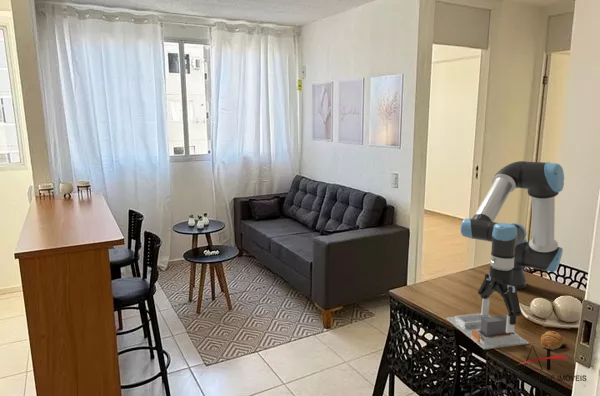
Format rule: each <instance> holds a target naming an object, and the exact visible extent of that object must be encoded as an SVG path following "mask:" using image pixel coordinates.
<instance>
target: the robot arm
mask: <svg viewBox="0 0 600 396" xmlns="http://www.w3.org/2000/svg"><path fill="white" fill-rule="evenodd" d="M564 185H565V174H564V169H563V167H562V166H561V164H559V163H555V162H554V163H553V162H550V161H549V162H548V161H547V162H540V161H537V162H536V161H525V160H523V161H522V160H519V161H514V162H511V163H508V164H506V165H505V166H503V167H502V168H500V170H499V171H497V172H496V174H494V176H493V177H492V180H491V186H490V188H489V189H488V191H487V193H486V194H485V196H484V198H483V199H482V201H481V203H480V205H478V206H479V207H478V208H477V210H476V211H475V213H474V215H473V216H472V218H471V217H469V218H468V217H465V218H464V219H463V220H462V221H461V224H460V234H461V236H463V237H465V238H469V239H473V240H480V241H484V242H491V252H490V255H491V256H490V266H489V273H486V274H485V275H484V280H483V281H482V283H481V285H480V287H479V289H478V291H477V294H478V295H479V296H480V298H481V310H480V313H481V315H482V316H485V315H490V313H489V312H490V303H491V302H490V301H491V299H490V297H491V295H492V294H493V293H494V292H497V293H498V294H499V295H500V297H502V299H503V301H504V305H505V306H506V310H507V312H508V313H507V314H506V316H507V322H506V333H511V332H515V325H516V324H517V323H516V322H517V317H521V316H522V314H523V313H522V310H521V306H520V301H519V296H518V290H521V289H522V290H523V289H525V288H526V287H527V280H526V276H525V272H524V268H525V267H526V268H531V269H535V270H541V271H544V272H550V273H551V272H552V273H554V272H556V271H557V270H558V268H559V267H560V264H561V263H560V262H561V260H562V256H563V252H564V250H563V248H562V247H561V246H559V243H558V241H557V240H556V239H555V205H556V204H555V198H556V197H557V196H558V195H559V194H560V192H562V191H563V189H564ZM515 189H525V190H527V195H528V196H529V197H531V222H532V223H531V228H532V229H531V230H532V232H531V233H532V234H531V235H532V236H531V237H532V238H531V239H529V241H527V234H528V233H527V230H526V228H525V226H523V225H522V224H520V223H517V222H516V223H506V222H495V220H496V219H497V216H498V214H499V213H500V211H501V209H502V207H503V206H504V204H505V202H506V200H507V198H508V196H509V195H510V193H512V192H514V191H515Z"/></svg>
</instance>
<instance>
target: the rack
mask: <svg viewBox="0 0 600 396" xmlns="http://www.w3.org/2000/svg"><path fill="white" fill-rule="evenodd" d="M486 317H492V316H491V315H490V314H489V315H485V316H482V315H481V312H480V313H478V312H477V313H468V314H460V315H454V316H447V317H445V320H447V321H448V322H450V323H451V324H452V325H453V326H454V327H455V328H457V329H458V330H460V332H462V333H463V334H464V335H465V336H466V337H468V338H469V339H471V340H472V341H473V342H474V343H476V344H477V345H478V346H479V347H480V348H482V349H483V350H484V351H485V350H491V349H499V348H509V347H514V346H522V345H529V344H530V343H529V341H528V340H526V339H525V338H523V337H521V336H520V335H519V334H518V333H517V332H515V331H514V332H511V334H502V335H493V336H491V337H485V336H483V335H482V334H481V333H480V330H481V318H486Z"/></svg>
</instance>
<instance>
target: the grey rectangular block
mask: <svg viewBox="0 0 600 396" xmlns="http://www.w3.org/2000/svg"><path fill="white" fill-rule="evenodd" d="M506 322H507V314H505V315H498V316H496V315H495V316H491V317H486V318H481V330H480V333H481V334H482V335H483V336H485V337H491V336H493V335H502V334H511V333H506Z"/></svg>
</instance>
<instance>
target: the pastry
mask: <svg viewBox="0 0 600 396" xmlns="http://www.w3.org/2000/svg"><path fill="white" fill-rule="evenodd" d="M564 342H565V340H564V339H563V336H561V334H560V333H559V332H556V331H553V330H552V331H551V330H548V331H546V332H545V333H544V334H542V335H541V337H540V345H541V347H542V348H544V349H548V350H552V351H554V350H558V349H560V348H561V347H562V345H563V344H564Z"/></svg>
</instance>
